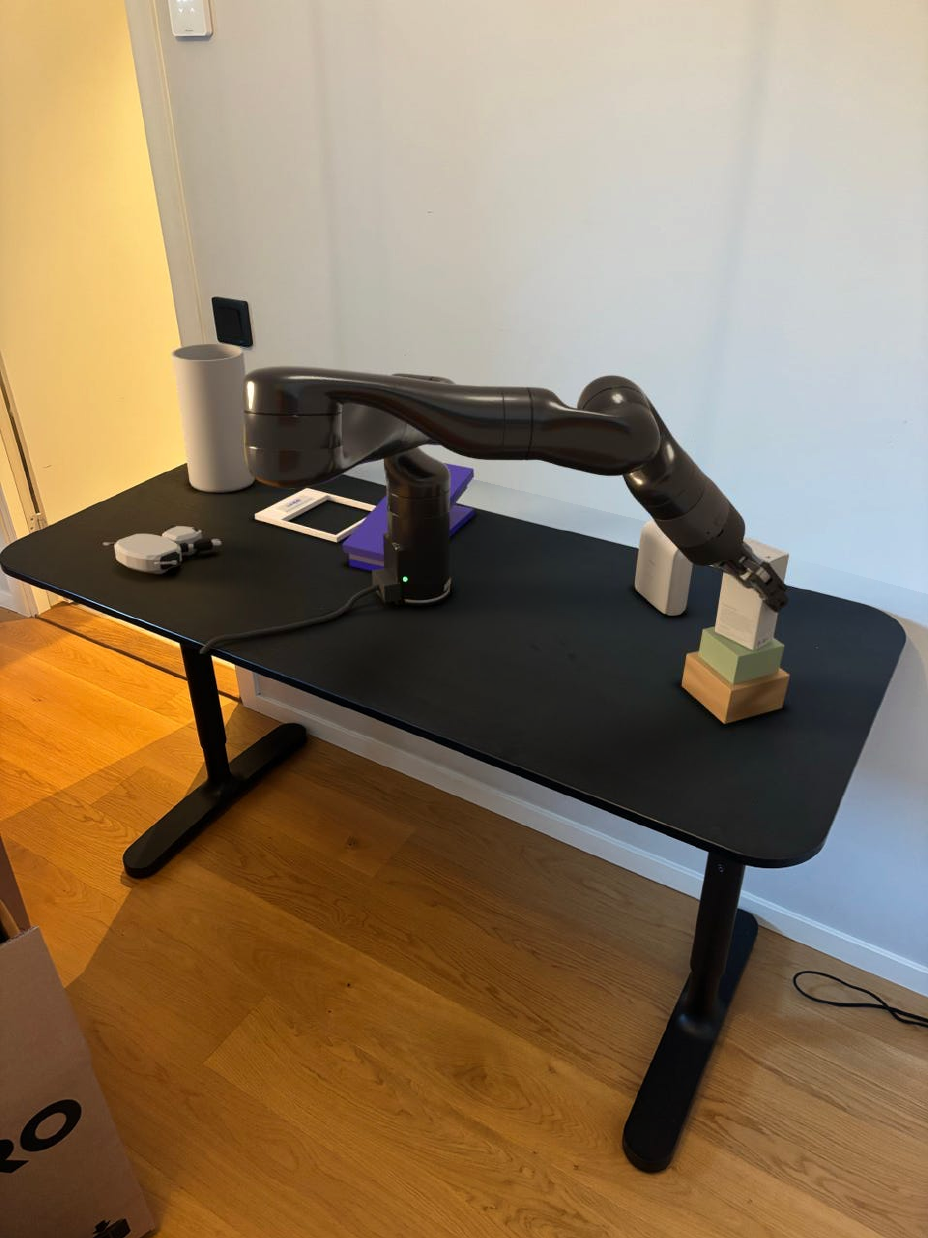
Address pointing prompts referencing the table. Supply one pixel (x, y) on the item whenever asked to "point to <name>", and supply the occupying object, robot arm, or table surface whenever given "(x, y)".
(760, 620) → the cosmetic box
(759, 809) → the table surface
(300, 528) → the photo frame
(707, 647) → the upper block
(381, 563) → the stapler
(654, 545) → the photo printer
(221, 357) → the cylinder vase
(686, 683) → the lower block
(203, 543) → the robot toy
